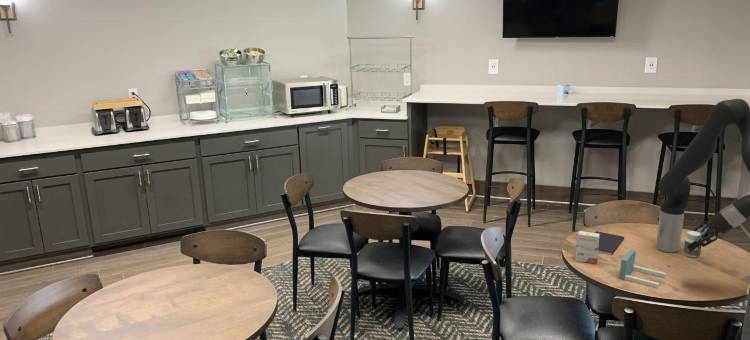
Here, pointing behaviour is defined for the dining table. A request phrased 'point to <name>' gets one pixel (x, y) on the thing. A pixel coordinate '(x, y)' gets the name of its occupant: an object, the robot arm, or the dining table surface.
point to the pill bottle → (688, 240)
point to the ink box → (587, 247)
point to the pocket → (628, 266)
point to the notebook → (609, 242)
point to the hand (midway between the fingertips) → (687, 245)
